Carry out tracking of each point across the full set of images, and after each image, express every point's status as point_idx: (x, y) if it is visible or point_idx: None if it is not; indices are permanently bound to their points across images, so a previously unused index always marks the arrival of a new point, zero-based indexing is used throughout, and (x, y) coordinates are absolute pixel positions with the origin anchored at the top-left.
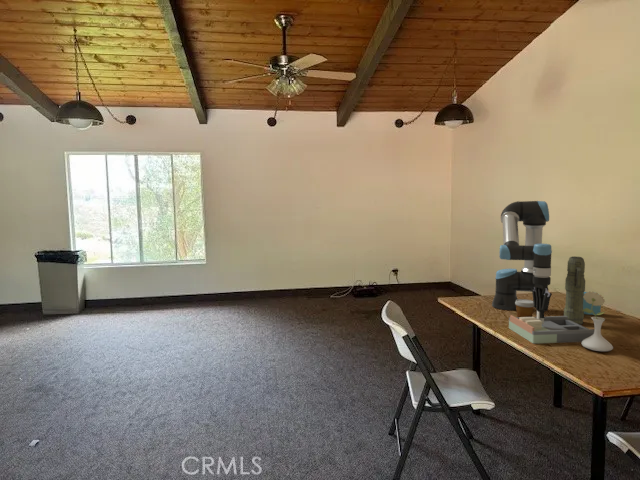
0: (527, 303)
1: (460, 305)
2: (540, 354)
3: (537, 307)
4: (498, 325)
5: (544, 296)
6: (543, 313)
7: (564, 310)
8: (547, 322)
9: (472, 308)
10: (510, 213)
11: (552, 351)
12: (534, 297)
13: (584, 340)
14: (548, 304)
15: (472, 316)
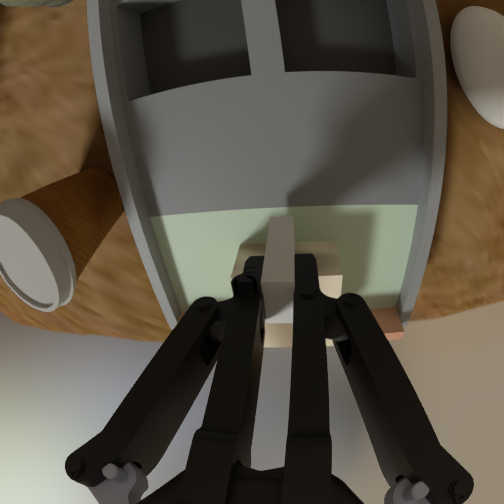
0: (56, 279)
1: (11, 309)
2: (470, 303)
3: (263, 343)
4: (157, 309)
5: (397, 477)
6: (317, 286)
7: (16, 3)
8: (180, 130)
9: (16, 295)
10: None
11: (472, 259)
12: (182, 418)
13: (498, 111)
14: (395, 360)
15: (85, 332)
